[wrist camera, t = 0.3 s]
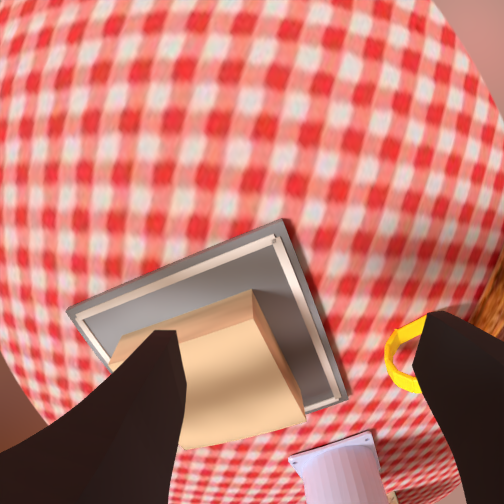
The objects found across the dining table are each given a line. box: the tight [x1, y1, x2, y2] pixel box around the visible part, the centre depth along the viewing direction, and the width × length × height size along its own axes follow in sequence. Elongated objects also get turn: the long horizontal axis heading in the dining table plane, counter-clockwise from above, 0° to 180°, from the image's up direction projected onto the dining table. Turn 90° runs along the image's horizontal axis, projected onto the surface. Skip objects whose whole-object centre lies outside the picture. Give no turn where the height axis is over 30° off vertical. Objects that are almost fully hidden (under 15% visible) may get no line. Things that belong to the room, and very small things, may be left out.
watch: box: [384, 315, 427, 393], centre depth 18 cm, size 6×3×6 cm, turn 115°
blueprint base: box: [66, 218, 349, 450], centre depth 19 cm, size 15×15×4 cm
